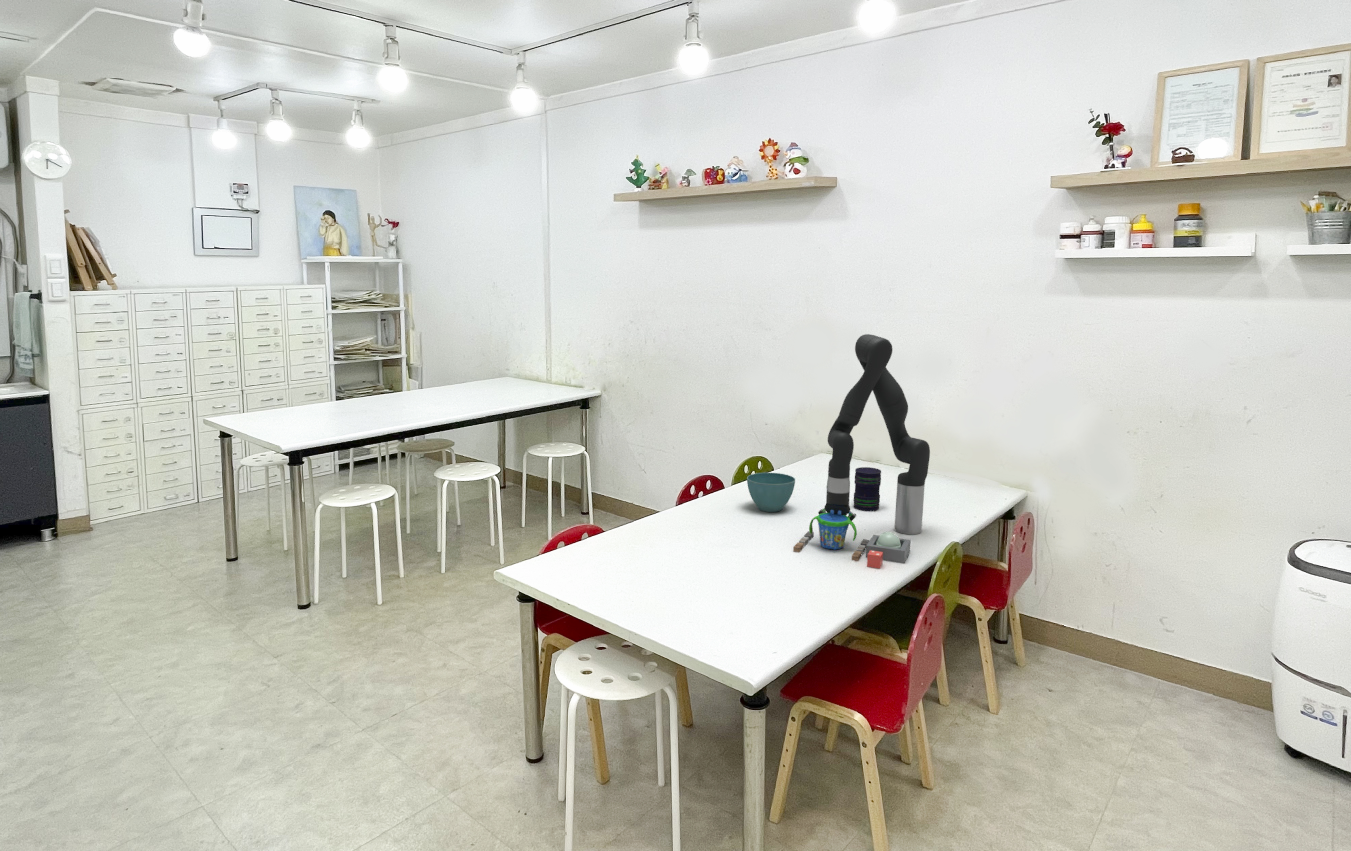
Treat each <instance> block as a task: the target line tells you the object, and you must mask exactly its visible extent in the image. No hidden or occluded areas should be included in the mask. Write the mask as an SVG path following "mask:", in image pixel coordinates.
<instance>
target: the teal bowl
mask: <svg viewBox="0 0 1351 851" xmlns="http://www.w3.org/2000/svg"><path fill="white" fill-rule="evenodd" d="M746 484H747V488H748V492H749V495H750V498H751V500H752V501H753V503H754V504H755V506H756V508H757V509H758V510H760V511H761V512H766V513H776V512H780V511H781V510H783V509H784V507H785V506H786V505H788V502H789V501H790V499H791V497H792V495H793V493H794V489H795V485H796V478H795V477H794V476H793V475H788V474H785V473H780V472H779V473H778V472H756V473H752V474H750V475H748V476H747V477H746Z"/></svg>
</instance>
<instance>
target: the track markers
mask: <svg viewBox="0 0 1351 851" xmlns="http://www.w3.org/2000/svg"><path fill="white" fill-rule="evenodd" d="M814 534H815V533H814V531H813V532H812V534H810V532H809V531H807V532H806V533H805V534H804V535H803V536H802V537H801V538H800V539H799V540H798V542H796V543H795V544H794V546H793V549H792V550H793V553H801V551H802V550H803V549H804V547H806V545H808V543H809V541H811V540H812V539H811V538H814V536H815V535H814ZM869 541H870V539H865V538H863V539H862V541H861V542H860V544H858V546H857V547H856V550H855V551H854V552H853V553H852V554H851V561H853V560H855V562H859V560H860V559H861V557H862V555H863V554H864V553H865V552H866V549H865V548H866V545H867V544H868V542H869ZM863 552H864V553H863ZM861 554H862V555H861Z"/></svg>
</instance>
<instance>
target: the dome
mask: <svg viewBox="0 0 1351 851" xmlns="http://www.w3.org/2000/svg"><path fill="white" fill-rule="evenodd" d="M899 538H900V537H899V536H898V535H897V534H895V533H894V532H890V531H886V532H883V533H881V534H880V536H879V538H878V541H877V544H876V545H878V546H885V547H892V548H899V549H900V548H901V543H900V540H899Z"/></svg>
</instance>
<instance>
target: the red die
mask: <svg viewBox="0 0 1351 851" xmlns="http://www.w3.org/2000/svg"><path fill="white" fill-rule="evenodd" d="M866 560H867V562H866V567H868V568H875V569H881V567H882V565H883V561H884V560H883V552H879V551H872V550H870V551H869V553H868V556H867V558H866Z"/></svg>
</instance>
